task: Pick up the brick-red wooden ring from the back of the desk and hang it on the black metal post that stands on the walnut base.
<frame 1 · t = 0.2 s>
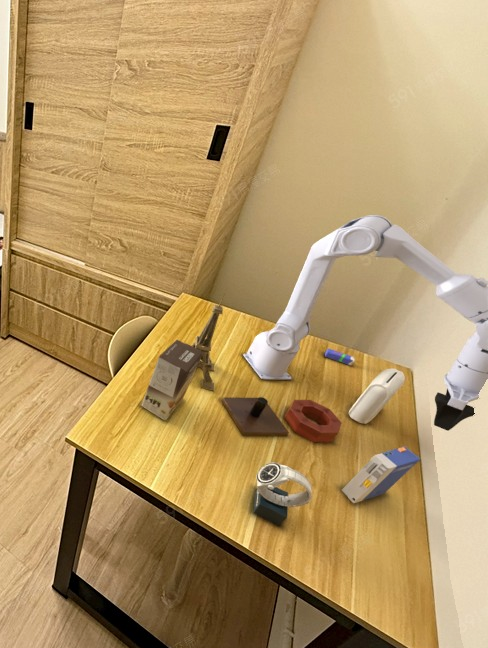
hand: (445, 418, 82), 11 cm above the table, tool pointing down, fingers open, 7 cm apart
post: (252, 417, 94), on the table
walkman: (362, 492, 79), on the table
white wireless mouse: (362, 412, 96), on the table
eraser: (337, 360, 111), on the table
coffee box: (161, 404, 97), on the table
ring: (308, 425, 93), on the table
eiffel tower: (191, 371, 106), on the table
watch: (266, 507, 77), on the table
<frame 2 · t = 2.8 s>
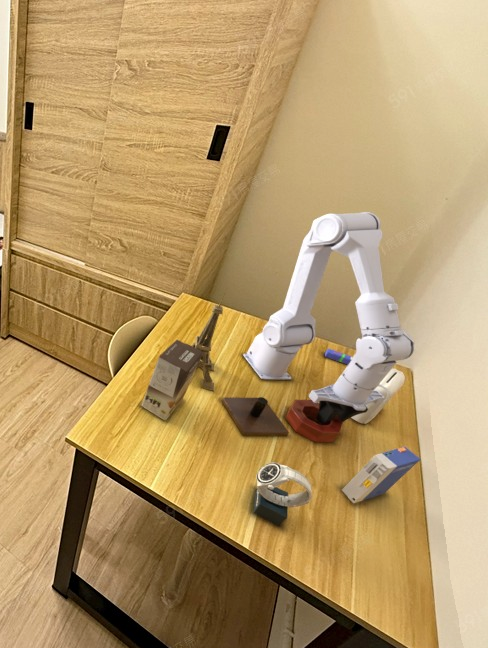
hand: (327, 421, 92), 1 cm above the table, tool pointing down, fingers closed on ring, 2 cm apart
ring: (309, 425, 93), on the table, touching gripper
everything else where it was.
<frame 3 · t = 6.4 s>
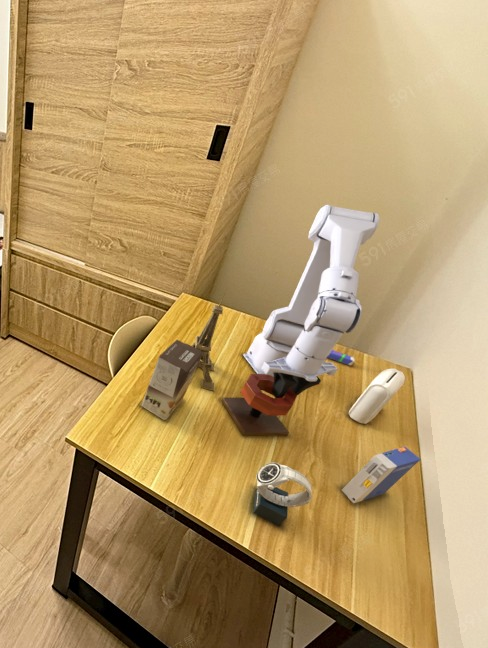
hand: (282, 395, 90), 8 cm above the table, tool pointing down, fingers closed on ring, 2 cm apart
ring: (264, 399, 90), point 6 cm above the table, touching gripper
everything else where it was.
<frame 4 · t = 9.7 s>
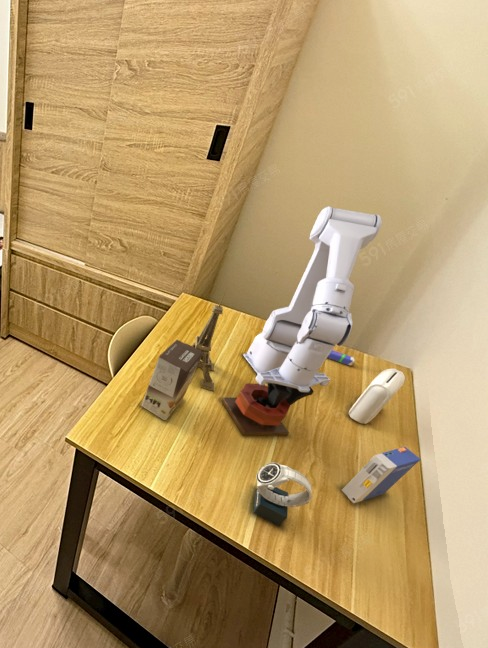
hand: (276, 404, 92), 5 cm above the table, tool pointing down, fingers closed on ring, 2 cm apart
ring: (258, 408, 92), point 3 cm above the table, touching gripper
everything else where it was.
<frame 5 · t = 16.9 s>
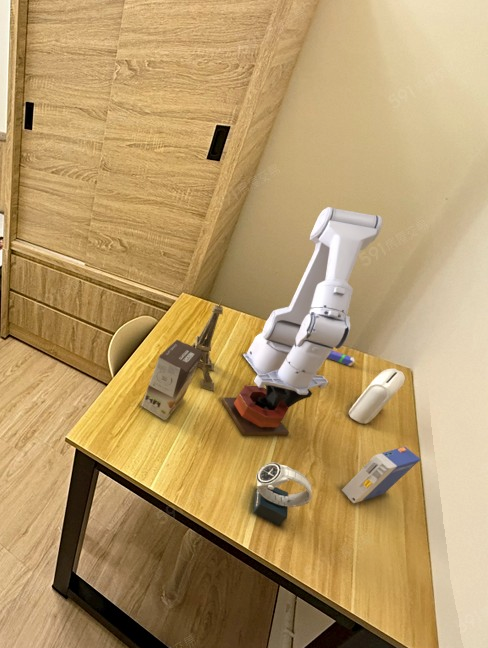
hand: (274, 406, 92), 4 cm above the table, tool pointing down, fingers closed on ring, 2 cm apart
ring: (257, 410, 93), point 2 cm above the table, touching gripper
everything else where it was.
when the fingers open (6 cm above the table, at t = 21.9 s): ring drops 4 cm, resting on post.
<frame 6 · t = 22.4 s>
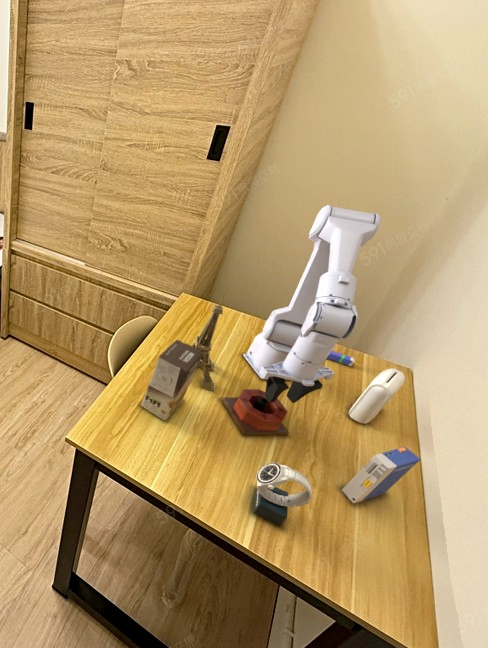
hand: (279, 399, 90), 6 cm above the table, tool pointing down, fingers open, 4 cm apart
ring: (256, 414, 93), point 1 cm above the table, touching post
everything else where it was.
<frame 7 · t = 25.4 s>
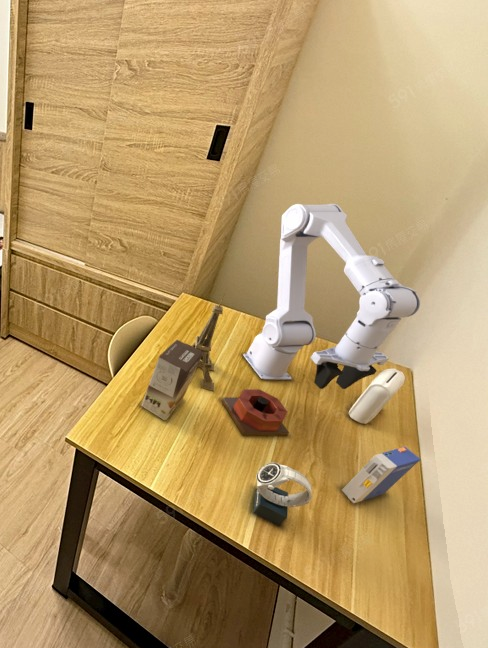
hand: (329, 385, 89), 10 cm above the table, tool pointing down, fingers open, 4 cm apart
nothing on the table moved.
at the end: ring 0.5 cm from the post (horizontally); ring point 1.2 cm above the table; the gripper is holding nothing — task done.
